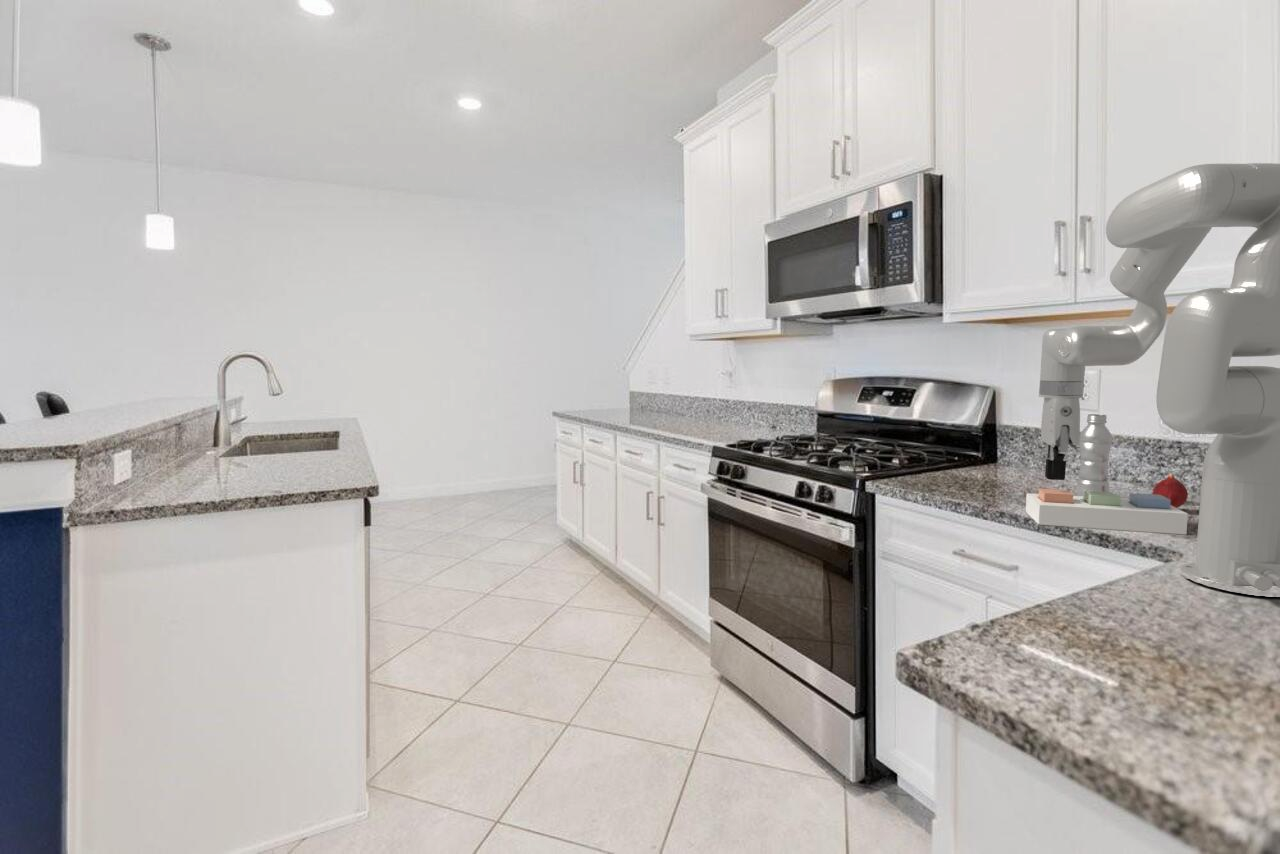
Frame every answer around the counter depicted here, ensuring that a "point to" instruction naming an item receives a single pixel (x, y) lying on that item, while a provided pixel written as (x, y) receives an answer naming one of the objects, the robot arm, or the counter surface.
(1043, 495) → the terracotta key
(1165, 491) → the onion
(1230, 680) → the counter surface
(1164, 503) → the slate key
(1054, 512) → the button panel
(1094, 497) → the sage key
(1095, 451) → the plastic bottle
